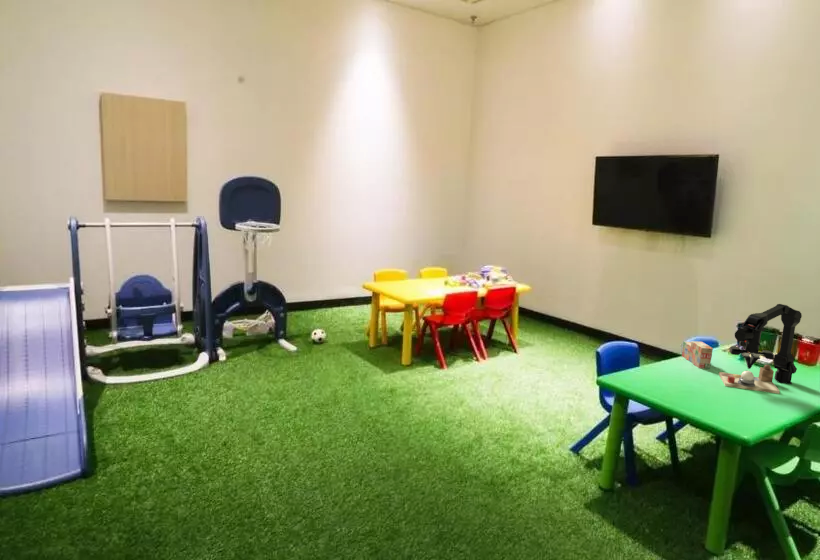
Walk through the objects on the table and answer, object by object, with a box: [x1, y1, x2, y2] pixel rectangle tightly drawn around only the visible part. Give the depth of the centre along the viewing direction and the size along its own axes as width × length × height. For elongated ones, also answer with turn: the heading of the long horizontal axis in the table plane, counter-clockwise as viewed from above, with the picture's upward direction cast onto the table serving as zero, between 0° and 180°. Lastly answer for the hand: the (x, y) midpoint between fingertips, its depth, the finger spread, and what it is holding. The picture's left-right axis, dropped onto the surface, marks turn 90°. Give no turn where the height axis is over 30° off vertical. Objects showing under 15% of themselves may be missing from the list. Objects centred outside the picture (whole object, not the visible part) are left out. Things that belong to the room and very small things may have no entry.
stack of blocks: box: [681, 340, 714, 370], centre depth 314 cm, size 21×6×12 cm, turn 178°
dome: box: [739, 370, 755, 384], centre depth 277 cm, size 7×7×6 cm
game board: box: [718, 371, 781, 395], centre depth 282 cm, size 24×18×4 cm
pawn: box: [758, 364, 775, 382], centre depth 284 cm, size 5×5×8 cm
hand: (748, 368), depth 277 cm, fingers closed
